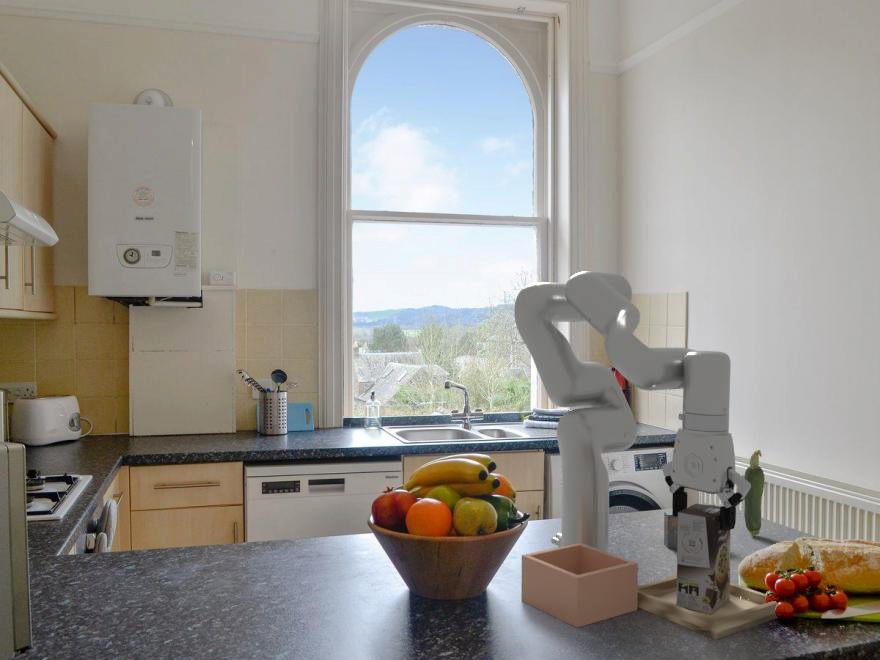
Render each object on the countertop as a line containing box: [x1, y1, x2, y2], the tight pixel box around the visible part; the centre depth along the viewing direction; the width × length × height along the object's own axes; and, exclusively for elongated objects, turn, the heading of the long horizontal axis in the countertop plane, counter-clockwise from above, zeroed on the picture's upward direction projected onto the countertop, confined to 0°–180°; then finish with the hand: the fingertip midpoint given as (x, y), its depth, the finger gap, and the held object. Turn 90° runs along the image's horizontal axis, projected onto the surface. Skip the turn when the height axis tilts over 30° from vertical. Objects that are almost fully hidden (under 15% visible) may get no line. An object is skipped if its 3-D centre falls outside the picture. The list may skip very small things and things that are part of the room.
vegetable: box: [743, 449, 766, 537], centre depth 173 cm, size 4×4×20 cm
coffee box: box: [676, 503, 731, 614], centre depth 128 cm, size 9×6×16 cm
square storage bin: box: [520, 543, 639, 628], centre depth 129 cm, size 14×14×8 cm
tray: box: [637, 575, 779, 641], centre depth 128 cm, size 18×18×2 cm
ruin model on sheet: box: [663, 502, 716, 549], centre depth 164 cm, size 25×16×10 cm, turn 89°
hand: (702, 522), depth 128 cm, fingers open, 9 cm apart
